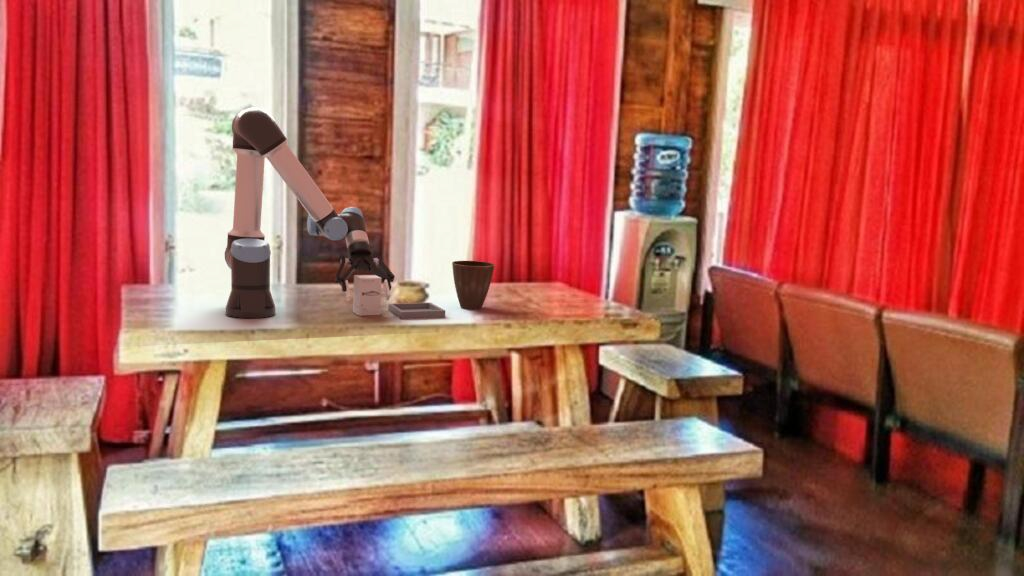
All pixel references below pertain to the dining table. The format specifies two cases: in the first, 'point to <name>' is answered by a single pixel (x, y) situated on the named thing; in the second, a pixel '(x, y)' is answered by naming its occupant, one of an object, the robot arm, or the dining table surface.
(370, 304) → the supplement box
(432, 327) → the dining table surface
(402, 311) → the tray
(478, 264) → the plant pot
